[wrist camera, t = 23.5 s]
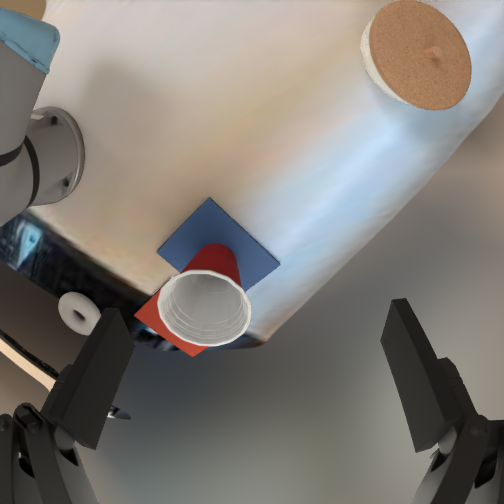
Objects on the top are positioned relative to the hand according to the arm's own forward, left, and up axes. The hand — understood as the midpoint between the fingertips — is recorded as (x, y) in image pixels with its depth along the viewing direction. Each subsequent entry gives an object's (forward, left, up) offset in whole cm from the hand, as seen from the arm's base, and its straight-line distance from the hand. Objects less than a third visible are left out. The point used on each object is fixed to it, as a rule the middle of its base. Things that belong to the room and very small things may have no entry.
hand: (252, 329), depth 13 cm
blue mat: (-7, -12, -27) cm, 30 cm away
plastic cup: (-7, -12, -26) cm, 30 cm away
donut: (-36, -22, -27) cm, 50 cm away
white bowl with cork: (+18, +16, -27) cm, 36 cm away
